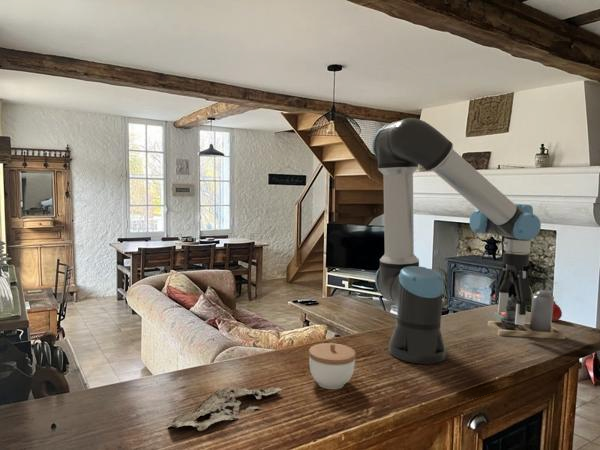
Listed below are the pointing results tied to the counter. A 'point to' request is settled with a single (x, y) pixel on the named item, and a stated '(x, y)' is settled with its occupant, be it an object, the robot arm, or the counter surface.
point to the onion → (556, 312)
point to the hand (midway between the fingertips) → (510, 318)
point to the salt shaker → (510, 314)
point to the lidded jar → (331, 364)
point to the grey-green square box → (497, 316)
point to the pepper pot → (541, 311)
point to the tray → (525, 331)
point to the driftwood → (220, 407)
